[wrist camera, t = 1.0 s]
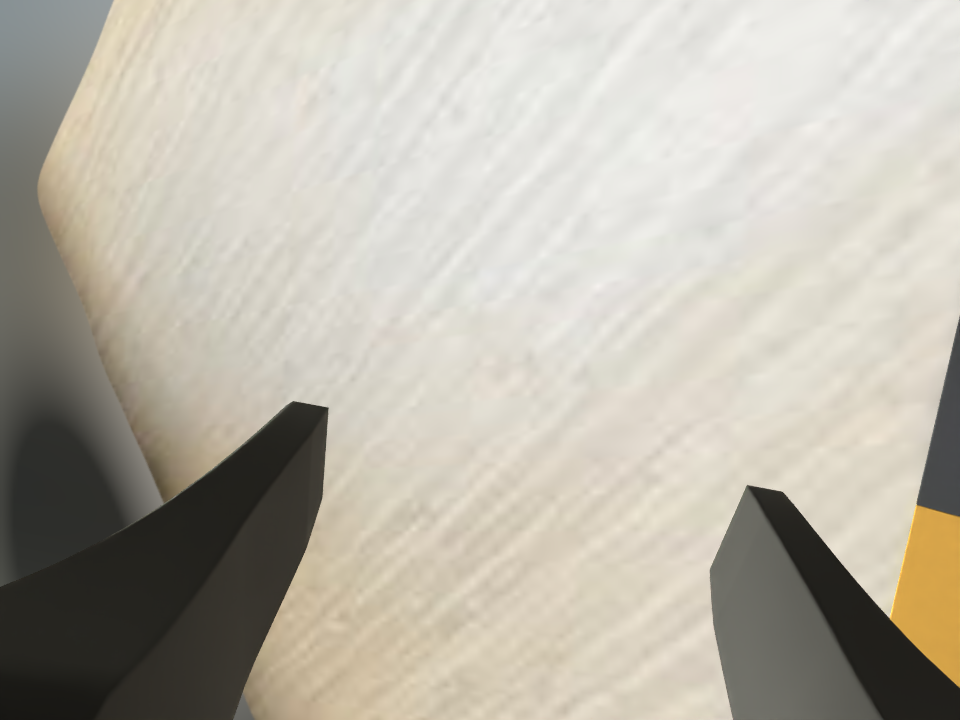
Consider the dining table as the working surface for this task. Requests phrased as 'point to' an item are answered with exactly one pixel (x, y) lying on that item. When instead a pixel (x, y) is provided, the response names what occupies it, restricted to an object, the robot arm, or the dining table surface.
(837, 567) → the robot arm
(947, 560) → the play mat
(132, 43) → the dining table surface
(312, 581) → the dining table surface
